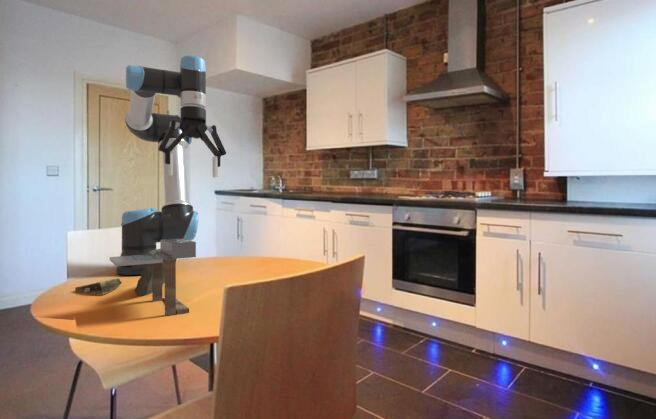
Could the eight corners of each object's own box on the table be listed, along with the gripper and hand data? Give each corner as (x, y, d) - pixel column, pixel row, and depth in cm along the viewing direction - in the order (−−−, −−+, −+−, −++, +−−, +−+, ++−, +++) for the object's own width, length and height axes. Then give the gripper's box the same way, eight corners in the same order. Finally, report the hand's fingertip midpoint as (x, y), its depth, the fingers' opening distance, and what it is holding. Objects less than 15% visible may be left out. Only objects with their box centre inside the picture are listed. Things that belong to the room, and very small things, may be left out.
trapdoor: (109, 260, 106) (109, 241, 106) (182, 255, 117) (182, 238, 117) (116, 266, 95) (116, 246, 95) (195, 260, 106) (195, 241, 106)
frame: (152, 302, 114) (152, 253, 114) (173, 300, 117) (173, 252, 117) (165, 316, 100) (165, 260, 100) (189, 312, 104) (188, 258, 103)
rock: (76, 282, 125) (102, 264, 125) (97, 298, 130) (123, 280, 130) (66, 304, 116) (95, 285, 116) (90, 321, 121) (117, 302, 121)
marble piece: (157, 256, 114) (145, 250, 114) (137, 302, 115) (125, 296, 116) (184, 248, 131) (173, 243, 131) (166, 289, 132) (155, 283, 132)
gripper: (152, 99, 115) (153, 173, 115) (236, 110, 129) (236, 177, 129) (147, 104, 121) (148, 175, 121) (227, 115, 135) (227, 178, 136)
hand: (193, 176), depth 125 cm, fingers open, 13 cm apart
